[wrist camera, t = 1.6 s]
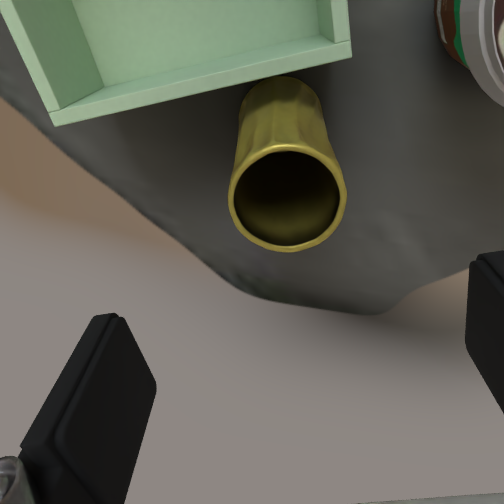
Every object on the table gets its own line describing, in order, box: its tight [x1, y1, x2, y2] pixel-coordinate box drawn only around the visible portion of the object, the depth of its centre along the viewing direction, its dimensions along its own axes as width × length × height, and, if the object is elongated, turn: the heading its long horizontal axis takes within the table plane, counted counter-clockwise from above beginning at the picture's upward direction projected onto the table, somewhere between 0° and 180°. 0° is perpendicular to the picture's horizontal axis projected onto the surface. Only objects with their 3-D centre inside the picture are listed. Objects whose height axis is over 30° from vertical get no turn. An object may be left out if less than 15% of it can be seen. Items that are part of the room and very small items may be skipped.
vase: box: [228, 76, 347, 252], centre depth 24 cm, size 6×6×14 cm
